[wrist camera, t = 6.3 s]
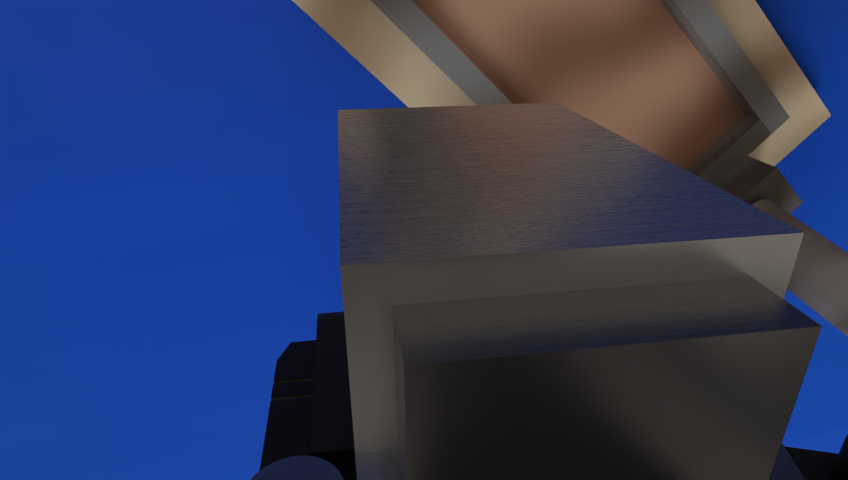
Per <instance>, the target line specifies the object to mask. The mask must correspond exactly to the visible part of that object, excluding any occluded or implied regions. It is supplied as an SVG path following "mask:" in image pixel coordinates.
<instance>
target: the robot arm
mask: <svg viewBox="0 0 848 480" xmlns="http://www.w3.org/2000/svg"><path fill="white" fill-rule="evenodd" d="M271 399H272V400H271V402H270V409H269V415H268V421H267V428H266V434H265V441H264V447H263V453H262V460H261V466H260V470H259V472H258V473H257V474H256V475H254V476H253V477H252V479H251V480H357V472H356V460H355V447H354V434H353V421H352V409H351V396H350V383H349V370H348V358H347V345H346V332H345V319H344V312H334V313H322V314H318V318H317V337H316V340H312V341H301V342H291V343H290V344H289V346H288V347H287V348H286V350H285V351H284V352H283V353H282V355H281V356H280V357H279V359H278V360H277V364H276V370H275V377H274V384H273V389H272V396H271ZM769 480H848V435H847V436H846V438H845V440H844V443H843V445H842V447H841V450H840V452H839V454H836V453H828V452H821V451H813V450H806V449H798V448H791V447H785V446H784V445H783V443H782V442H781V445H780V448H779V451H778V454H777V457H776V460H775V463H774V466H773V468H772V471H771V474H770V477H769Z"/></svg>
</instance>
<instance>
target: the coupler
mask: <svg viewBox="0 0 848 480" xmlns="http://www.w3.org/2000/svg"><path fill="white" fill-rule="evenodd" d="M338 150H339V215H340V268H341V281H342V294H343V307H344V319H345V332H346V345H347V358H348V370H349V383H350V396H351V409H352V421H353V434H354V447H355V460H356V472H357V480H769V477H770V474H771V471H772V468H773V466H774V463H775V460H776V457H777V454H778V451H779V448H780V445H781V442H782V440H783V437H784V434H785V431H786V428H787V425H788V422H789V419H790V417H791V414H792V411H793V408H794V405H795V402H796V399H797V396H798V393H799V391H800V388H801V385H802V382H803V379H804V376H805V373H806V370H807V367H808V365H809V362H810V359H811V356H812V353H813V350H814V347H815V344H816V342H817V339H818V336H819V333H820V330H821V327H822V326H821V325H819V324H818V323H816V322H815V321H814V320H812V319H811V318H809V317H808V316H806V315H805V314H804V313H802V312H801V311H799V310H798V309H797V308H795V307H794V306H792V305H791V304H789V303H788V302H787V301H785V300H784V297H785V294H786V290H787V287H788V284H789V281H790V277H791V274H792V271H793V268H794V264H795V261H796V258H797V254H798V251H799V248H800V245H801V241H802V238H803V235H804V232H802V231H800V230H798V229H796V228H794V227H792V226H790V225H789V224H787V223H785V222H783V221H781V220H779V219H777V218H775V217H773V216H771V215H770V214H768V213H766V212H764V211H762V210H760V209H758V208H756V207H754V206H753V205H751V204H749V203H747V202H745V201H743V200H741V199H739V198H737V197H735V196H734V195H732V194H730V193H728V192H726V191H724V190H722V189H720V188H718V187H717V186H715V185H713V184H711V183H709V182H707V181H705V180H703V179H701V178H699V177H698V176H696V175H694V174H692V173H690V172H688V171H686V170H684V169H682V168H681V167H679V166H677V165H675V164H673V163H671V162H669V161H667V160H665V159H663V158H662V157H660V156H658V155H656V154H654V153H652V152H650V151H648V150H646V149H645V148H643V147H641V146H639V145H637V144H635V143H633V142H631V141H629V140H627V139H626V138H624V137H622V136H620V135H618V134H616V133H614V132H612V131H610V130H609V129H607V128H605V127H603V126H601V125H599V124H597V123H595V122H593V121H591V120H590V119H588V118H586V117H584V116H582V115H580V114H578V113H576V112H574V111H572V110H571V109H569V108H567V107H565V106H563V105H561V104H559V103H557V102H552V103H524V104H496V105H468V106H440V107H411V108H383V109H355V110H338Z"/></svg>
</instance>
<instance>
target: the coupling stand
mask: <svg viewBox="0 0 848 480" xmlns="http://www.w3.org/2000/svg"><path fill="white" fill-rule="evenodd" d="M292 1H293V2H294V3H296V4H297V5H298V6H299V7H300V8H301V9H302V10H303V11H304V12H305V13H306V14H308V15H309V16H310V17H311V18H312V19H313V20H314V21H315V22H316V23H317V24H318V25H319V26H321V27H322V28H323V29H324V30H325V31H326V32H327V33H328V34H329V35H330V36H331V37H333V38H334V39H335V40H336V41H337V42H338V43H339V44H340V45H341V46H342V47H343V48H344V49H346V50H347V51H348V52H349V53H350V54H351V55H352V56H353V57H354V58H355V59H356V60H357V61H359V62H360V63H361V64H362V65H363V66H364V67H365V68H366V69H367V70H368V71H369V72H371V73H372V74H373V75H374V76H375V77H376V78H377V79H378V80H379V81H380V82H381V83H382V84H384V85H385V86H386V87H387V88H388V89H389V90H390V91H391V92H392V93H393V94H394V95H396V96H397V97H398V98H399V99H400V100H401V101H402V102H403V103H404V104H405V105H406V106H407V107H409V108H411V107H440V106H468V105H496V104H524V103H552V102H557V103H559V104H561V105H563V106H565V107H567V108H569V109H571V110H572V111H574V112H576V113H578V114H580V115H582V116H584V117H586V118H588V119H590V120H591V121H593V122H595V123H597V124H599V125H601V126H603V127H605V128H607V129H609V130H610V131H612V132H614V133H616V134H618V135H620V136H622V137H624V138H626V139H627V140H629V141H631V142H633V143H635V144H637V145H639V146H641V147H643V148H645V149H646V150H648V151H650V152H652V153H654V154H656V155H658V156H660V157H662V158H663V159H665V160H667V161H669V162H671V163H673V164H675V165H677V166H679V167H681V168H682V169H684V170H686V171H688V172H690V173H692V174H694V175H696V176H698V177H699V178H701V179H703V180H705V181H707V182H709V183H711V184H713V185H715V186H717V187H718V188H720V189H722V190H724V191H726V192H728V193H730V194H732V195H734V196H735V197H737V198H739V199H741V200H743V201H745V202H747V203H749V204H751V205H753V206H754V207H756V208H758V209H760V210H762V211H764V212H766V213H768V214H770V215H771V216H773V217H775V218H777V219H779V220H781V221H783V222H785V223H787V224H789V225H790V226H792V227H794V228H796V229H798V230H800V231H802V232H804V235H803V238H802V241H801V245H800V248H799V251H798V254H797V258H796V261H795V264H794V268H793V271H792V274H791V277H790V281H789V284H788V287H787V289H788V290H789V291H790V292H792V293H793V294H794V295H795V296H797V297H798V298H799V299H801V300H802V301H803V302H804V303H806V304H807V305H808V306H809V307H811V308H812V309H813V310H815V311H816V312H817V313H818V314H820V315H821V316H822V317H823V318H825V319H826V320H827V321H829V322H830V323H831V324H832V325H834V326H835V327H836V328H837V329H839V330H840V331H841V332H843V333H844V334H845V335H846V336H848V253H847V252H845V251H844V250H842V249H841V248H839V247H838V246H837V245H835V244H834V243H832V242H831V241H829V240H828V239H826V238H825V237H823V236H822V235H820V234H819V233H817V232H816V231H814V230H813V229H812V228H810V227H809V226H807V225H806V224H804V223H803V222H801V221H800V220H798V219H797V218H795V217H794V216H792V215H791V214H790V213H791V212H792V211H794V210H795V209H796V208H797V207H798V206H799V205H801V204H802V203H803V202H802V201H801V199H800V198H799V197H798V195H797V194H796V193H795V191H794V190H793V189H792V187H791V186H790V185H789V183H788V182H787V181H786V179H785V178H784V177H783V175H782V174H781V173H780V171H779V170H778V169H777V168H776V167H774V166H775V165H776V164H778V163H779V162H780V161H781V160H782V159H783V158H784V157H785V156H786V155H788V154H789V153H790V152H791V151H792V150H793V149H794V148H795V147H796V146H798V145H799V144H800V143H801V142H802V141H803V140H804V139H805V138H807V137H808V136H809V135H810V134H811V133H812V132H813V131H814V130H815V129H817V128H818V127H819V126H820V125H821V124H822V123H823V122H824V121H826V120H827V119H828V118H829V117H830V116H831V114H830V113H829V111H828V110H827V108H826V107H825V105H824V104H823V102H822V101H821V99H820V98H819V96H818V95H817V93H816V92H815V90H814V88H813V87H812V85H811V84H810V82H809V81H808V79H807V78H806V76H805V75H804V73H803V72H802V70H801V69H800V67H799V66H798V64H797V63H796V61H795V60H794V58H793V57H792V55H791V54H790V52H789V51H788V49H787V48H786V46H785V45H784V43H783V41H782V40H781V38H780V37H779V35H778V34H777V32H776V31H775V29H774V28H773V26H772V25H771V23H770V22H769V20H768V19H767V17H766V16H765V14H764V13H763V11H762V10H761V8H760V7H759V5H758V4H757V2H756V1H755V0H292Z"/></svg>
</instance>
